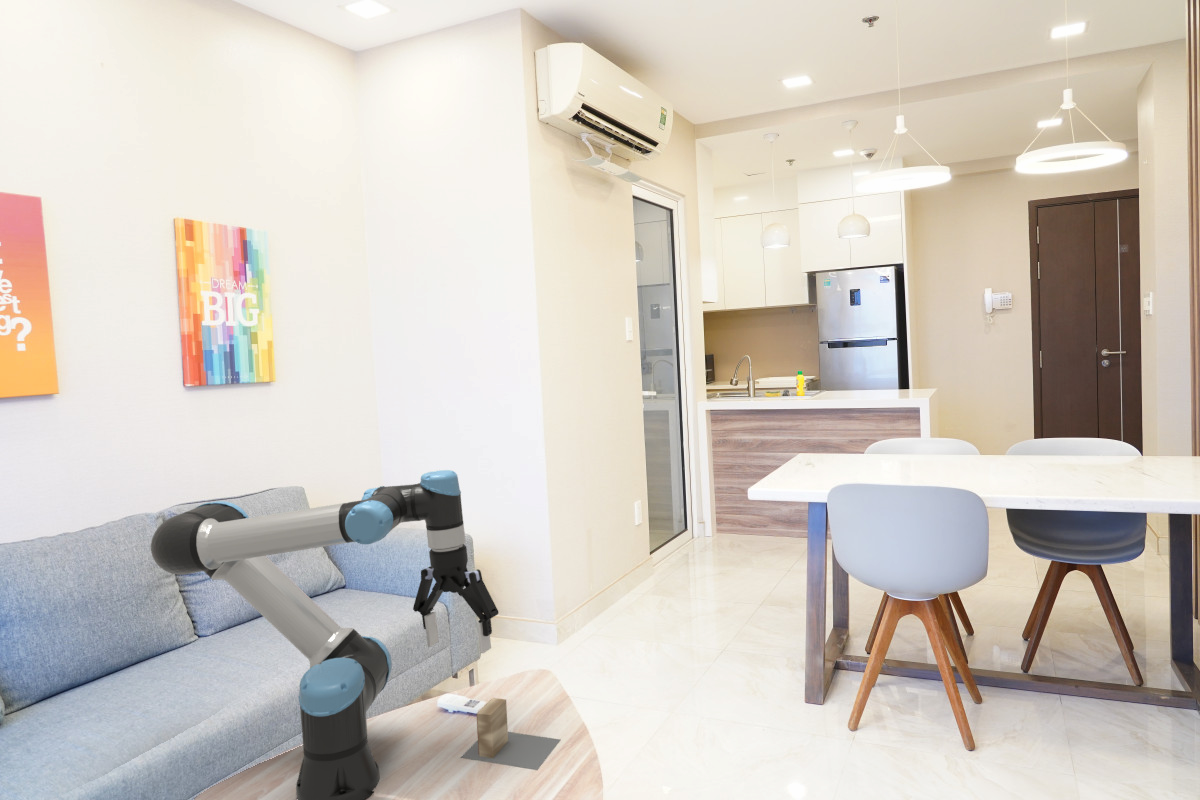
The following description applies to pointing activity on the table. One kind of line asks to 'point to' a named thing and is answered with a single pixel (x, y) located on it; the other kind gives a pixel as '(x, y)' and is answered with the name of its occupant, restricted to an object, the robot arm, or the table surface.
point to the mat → (518, 751)
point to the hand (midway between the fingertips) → (459, 647)
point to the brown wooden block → (492, 727)
